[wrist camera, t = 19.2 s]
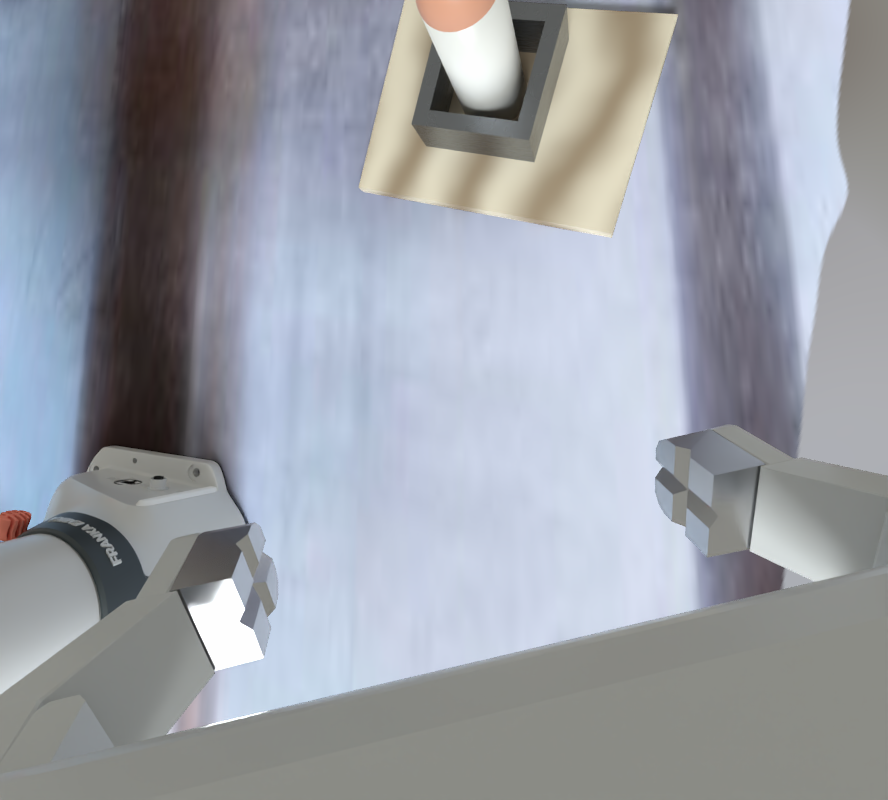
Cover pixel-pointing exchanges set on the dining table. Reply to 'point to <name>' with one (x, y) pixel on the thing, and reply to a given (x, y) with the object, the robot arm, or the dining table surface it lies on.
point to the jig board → (564, 136)
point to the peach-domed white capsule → (478, 54)
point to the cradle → (520, 140)
